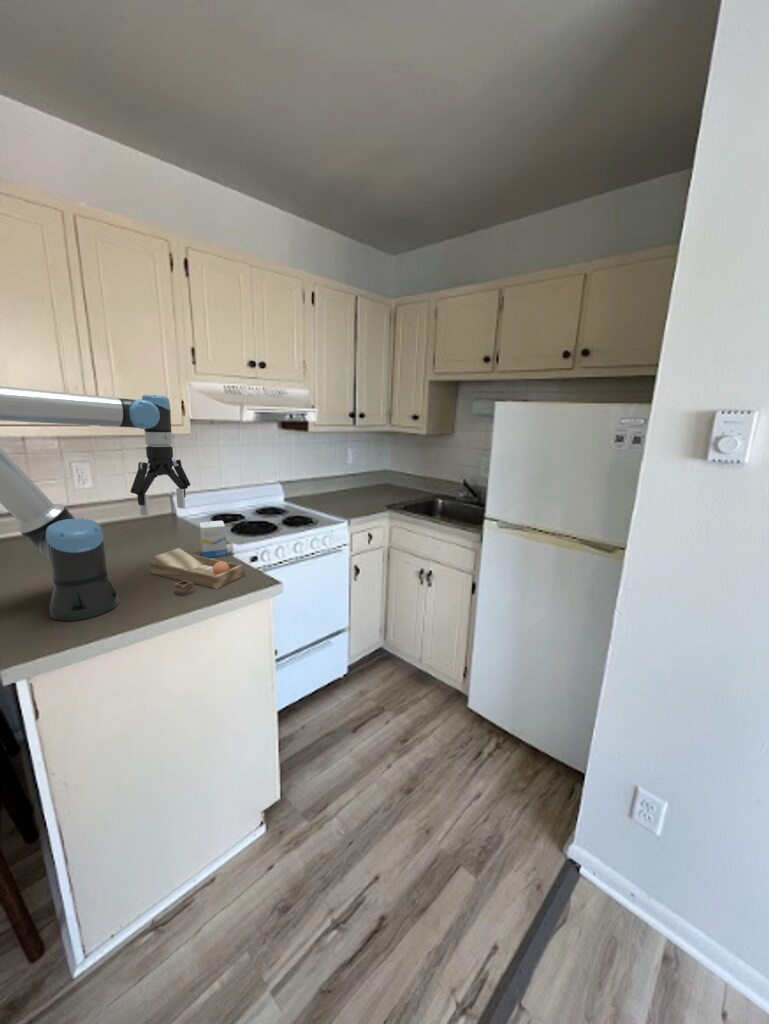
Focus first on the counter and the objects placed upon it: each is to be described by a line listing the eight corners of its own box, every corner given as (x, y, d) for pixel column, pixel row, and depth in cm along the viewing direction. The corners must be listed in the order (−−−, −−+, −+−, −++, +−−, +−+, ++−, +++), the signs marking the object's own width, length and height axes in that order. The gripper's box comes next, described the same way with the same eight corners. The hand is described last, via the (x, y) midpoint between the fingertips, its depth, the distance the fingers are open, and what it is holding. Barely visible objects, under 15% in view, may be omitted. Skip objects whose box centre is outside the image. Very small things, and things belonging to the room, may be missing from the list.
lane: (216, 589, 129) (215, 571, 127) (151, 573, 139) (149, 557, 138) (244, 576, 140) (243, 559, 138) (181, 562, 150) (180, 546, 149)
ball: (218, 563, 131) (223, 578, 132) (230, 558, 136) (234, 573, 136) (207, 565, 133) (211, 580, 134) (219, 560, 138) (223, 575, 138)
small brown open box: (184, 595, 123) (183, 586, 123) (174, 593, 125) (173, 584, 124) (194, 590, 127) (193, 581, 126) (185, 588, 128) (184, 579, 128)
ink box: (227, 555, 158) (225, 525, 155) (202, 558, 154) (200, 527, 151) (224, 549, 165) (222, 519, 162) (200, 551, 161) (198, 521, 159)
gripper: (130, 448, 122) (136, 520, 126) (199, 444, 144) (202, 506, 149) (112, 446, 125) (119, 517, 129) (183, 443, 147) (186, 503, 152)
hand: (163, 511), depth 139 cm, fingers open, 13 cm apart
